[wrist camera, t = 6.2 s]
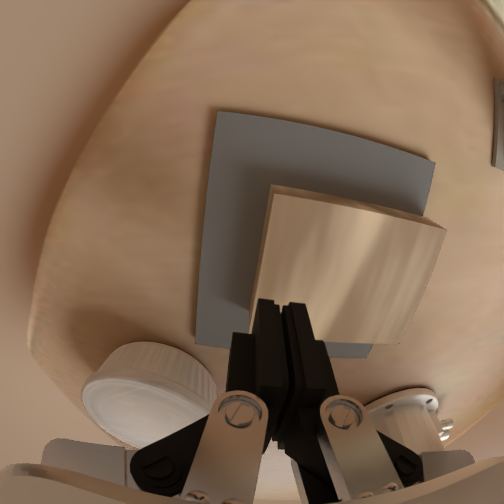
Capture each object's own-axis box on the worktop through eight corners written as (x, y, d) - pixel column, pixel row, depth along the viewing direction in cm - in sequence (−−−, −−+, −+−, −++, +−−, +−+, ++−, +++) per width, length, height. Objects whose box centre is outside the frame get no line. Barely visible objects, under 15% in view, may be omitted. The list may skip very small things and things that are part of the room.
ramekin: (159, 421, 25) (149, 462, 20) (81, 351, 21) (56, 392, 16) (251, 397, 23) (251, 447, 18) (169, 307, 19) (147, 360, 14)
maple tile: (271, 184, 15) (426, 217, 15) (248, 310, 18) (386, 322, 18) (274, 193, 13) (447, 230, 13) (248, 334, 16) (399, 343, 16)
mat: (430, 161, 15) (435, 162, 14) (364, 353, 20) (366, 358, 20) (218, 111, 14) (217, 110, 13) (196, 338, 20) (195, 343, 19)
